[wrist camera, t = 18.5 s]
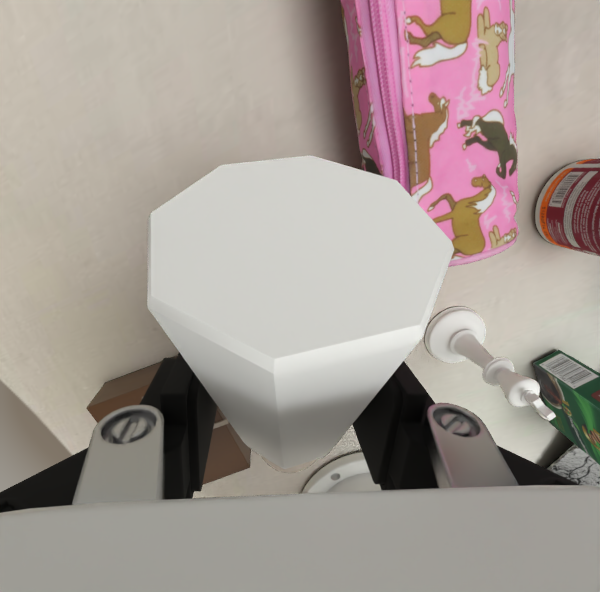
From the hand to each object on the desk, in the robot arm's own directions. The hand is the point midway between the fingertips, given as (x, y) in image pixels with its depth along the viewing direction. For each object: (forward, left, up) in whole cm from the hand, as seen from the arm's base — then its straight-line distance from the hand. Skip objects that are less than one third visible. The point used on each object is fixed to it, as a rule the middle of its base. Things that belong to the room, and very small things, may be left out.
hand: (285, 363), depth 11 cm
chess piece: (+1, -16, -14) cm, 21 cm away
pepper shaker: (+5, +2, +4) cm, 7 cm away
